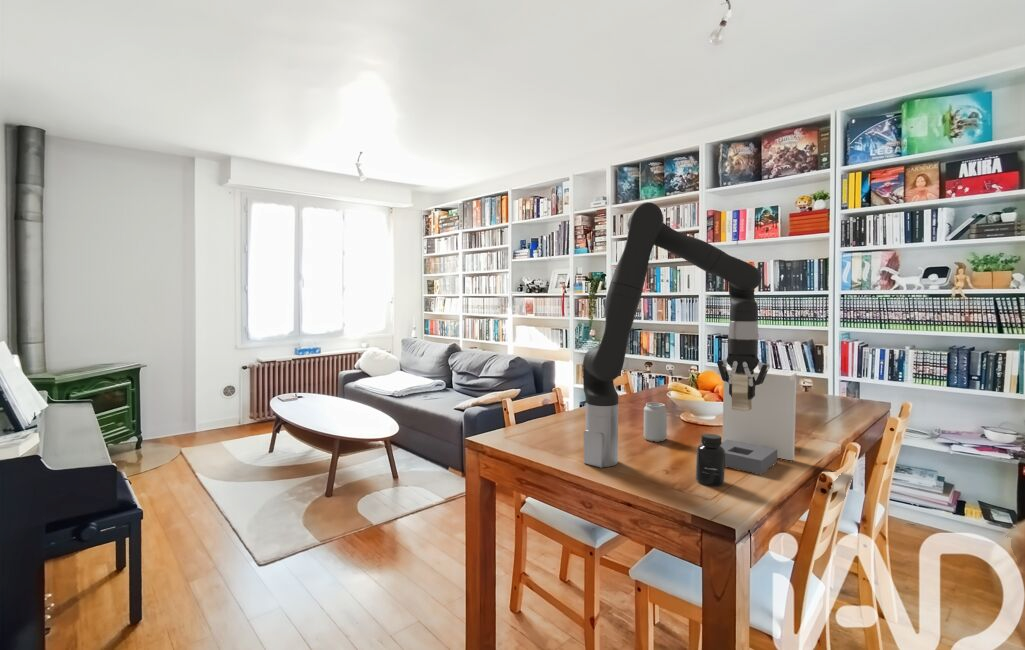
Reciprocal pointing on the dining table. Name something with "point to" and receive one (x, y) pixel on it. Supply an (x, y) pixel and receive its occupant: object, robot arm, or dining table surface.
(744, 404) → the peg
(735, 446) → the socket
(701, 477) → the supplement bottle
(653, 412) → the can
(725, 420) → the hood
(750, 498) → the dining table surface
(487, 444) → the dining table surface
